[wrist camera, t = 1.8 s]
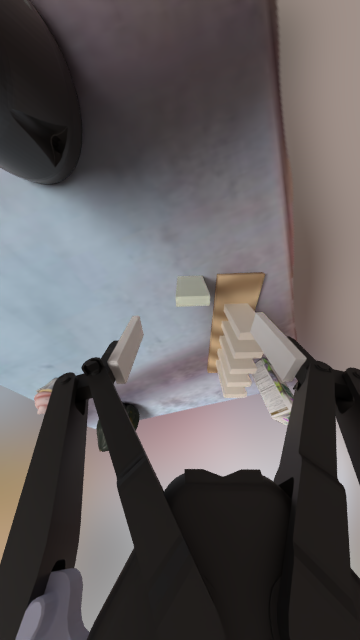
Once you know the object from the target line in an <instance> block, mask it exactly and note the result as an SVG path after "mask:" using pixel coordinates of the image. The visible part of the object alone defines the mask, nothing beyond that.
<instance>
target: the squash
mask: <svg viewBox="0 0 360 640" xmlns="http://www.w3.org/2000/svg"><path fill="white" fill-rule="evenodd" d="M123 406H124V408H125V410H126V412H127V414H128V416H129V418H130V421H131V423H132V425H133V427H134V429H135V431H136V429H137V427H138V422H139V412H138V410H137V409H136V408H134V407H133V406H132V405H127V406H125V405H124V404H123ZM97 438H98V447H99V450H100V451H102V452H105V451H109V450H108V446H107V443H106V440H105V436H104V433H103V430H102V427H101V423H100V420H98V424H97Z"/></svg>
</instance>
